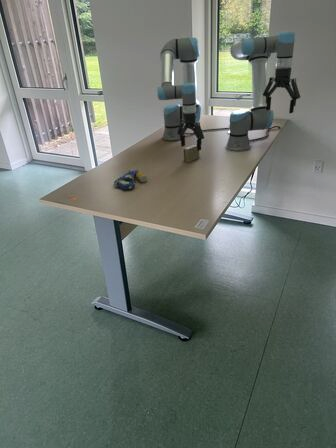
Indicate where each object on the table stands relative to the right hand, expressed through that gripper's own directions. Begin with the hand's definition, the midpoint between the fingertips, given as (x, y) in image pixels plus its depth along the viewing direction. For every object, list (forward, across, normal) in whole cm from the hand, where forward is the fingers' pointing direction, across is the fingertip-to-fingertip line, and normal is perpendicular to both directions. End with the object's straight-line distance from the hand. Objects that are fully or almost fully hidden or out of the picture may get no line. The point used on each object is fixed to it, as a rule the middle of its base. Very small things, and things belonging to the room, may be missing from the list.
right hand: (279, 111), depth 176 cm
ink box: (+29, -43, -24) cm, 57 cm away
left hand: (+22, -43, -24) cm, 54 cm away
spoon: (+29, -65, +46) cm, 85 cm away
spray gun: (+29, -45, -69) cm, 87 cm away
